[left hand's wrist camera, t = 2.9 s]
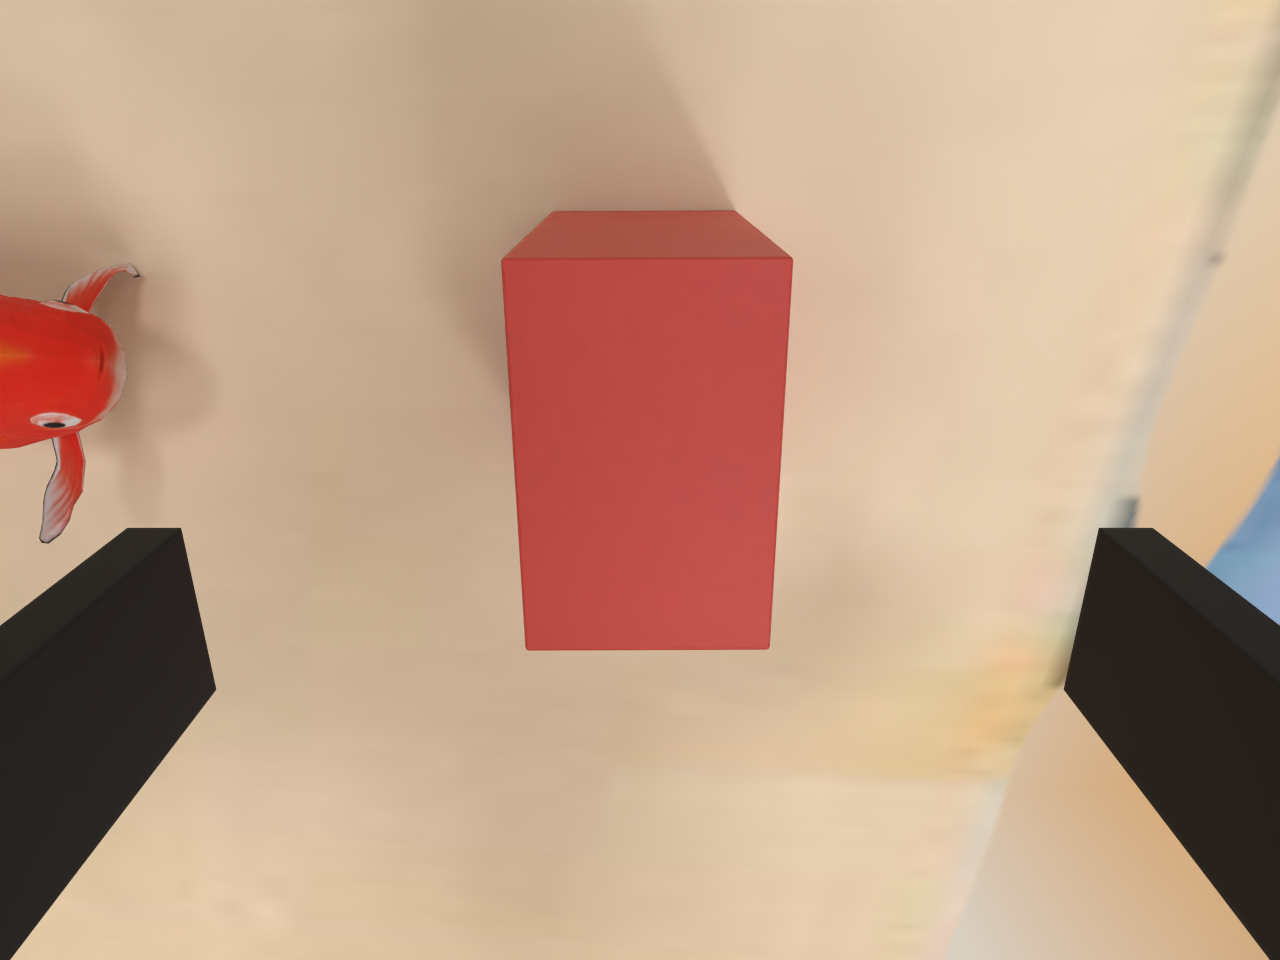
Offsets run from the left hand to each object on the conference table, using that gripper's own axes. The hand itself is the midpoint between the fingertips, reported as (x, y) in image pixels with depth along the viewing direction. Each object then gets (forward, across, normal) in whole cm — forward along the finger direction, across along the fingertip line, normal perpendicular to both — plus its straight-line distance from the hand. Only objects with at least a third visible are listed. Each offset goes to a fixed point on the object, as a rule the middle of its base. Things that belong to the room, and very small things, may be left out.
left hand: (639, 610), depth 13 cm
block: (+15, 0, 0) cm, 15 cm away
